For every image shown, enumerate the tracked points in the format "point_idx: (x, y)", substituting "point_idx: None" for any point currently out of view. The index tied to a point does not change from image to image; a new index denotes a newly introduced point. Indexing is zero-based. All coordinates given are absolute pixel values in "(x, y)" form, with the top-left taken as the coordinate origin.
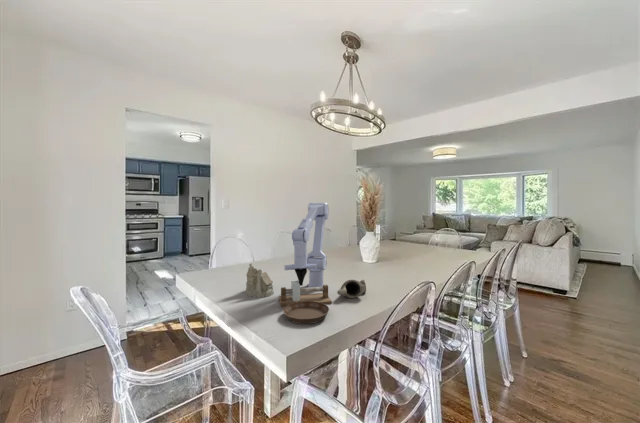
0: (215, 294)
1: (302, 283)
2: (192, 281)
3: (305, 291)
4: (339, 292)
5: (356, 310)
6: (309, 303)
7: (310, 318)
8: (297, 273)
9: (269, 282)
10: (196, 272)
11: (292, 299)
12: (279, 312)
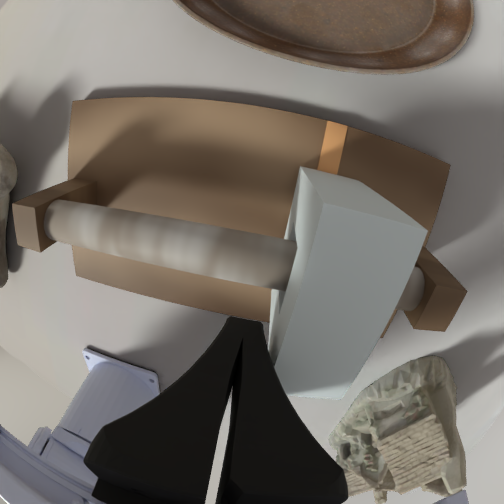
0: (497, 399)
1: (225, 328)
2: None
3: (221, 227)
4: (2, 149)
5: (41, 4)
6: (252, 40)
7: None
8: (316, 462)
9: (404, 436)
10: (413, 491)
11: None
12: (465, 91)
